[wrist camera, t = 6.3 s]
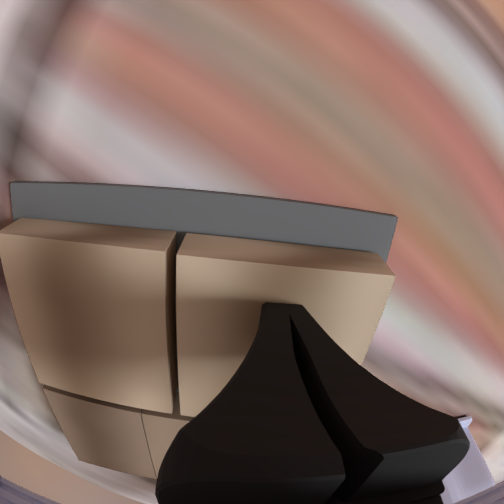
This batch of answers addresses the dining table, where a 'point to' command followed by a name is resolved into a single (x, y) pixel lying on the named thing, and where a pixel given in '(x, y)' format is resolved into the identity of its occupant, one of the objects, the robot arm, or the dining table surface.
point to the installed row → (116, 431)
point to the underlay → (205, 215)
